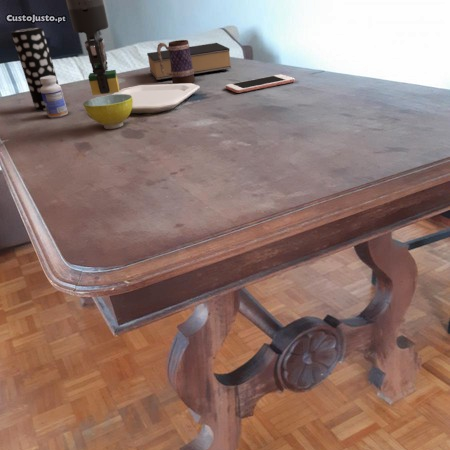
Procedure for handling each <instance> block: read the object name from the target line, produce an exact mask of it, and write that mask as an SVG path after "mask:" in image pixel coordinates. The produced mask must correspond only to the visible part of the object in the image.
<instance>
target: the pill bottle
mask: <svg viewBox="0 0 450 450" xmlns="http://www.w3.org/2000/svg"><path fill="white" fill-rule="evenodd" d="M56 77H57V76H56ZM56 77H55V76H45V77H41V78H40V81H41V84H42V85H43V86H42V87H41V89H40V90H41V94H42V97H43V101H44V104H45V107H46V111H45V112H46V114H47V116H48V118H51V119H54V118H55V119H57V118H62V117H64V116H66V115H68V114H69V111H68V108H67V104H66V100H65V96H64V93H63V89H62V86H61V85H60V84H59V83H58V84H59V85H58V84H56V82H57V80H58V79H57V80H56Z"/></svg>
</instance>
